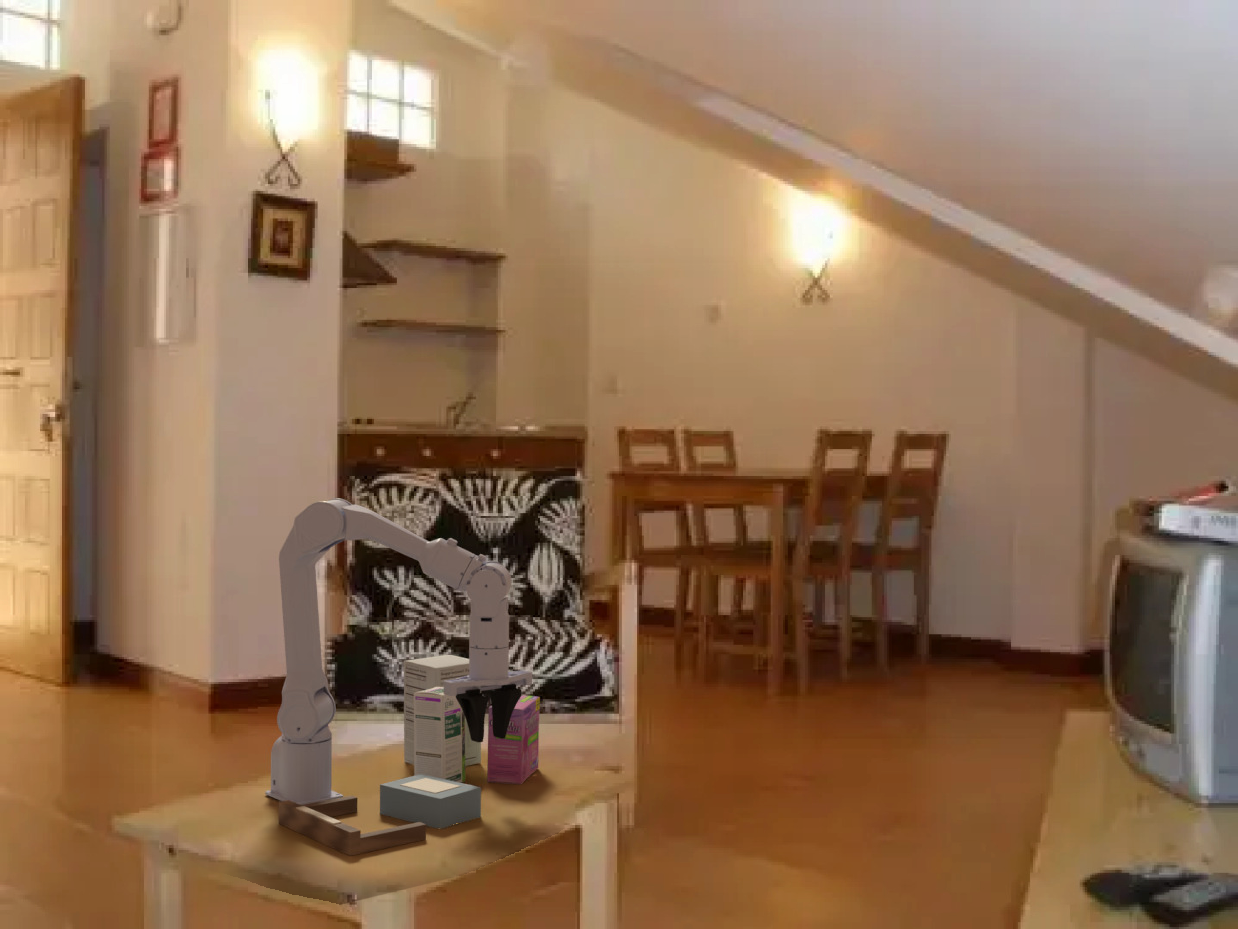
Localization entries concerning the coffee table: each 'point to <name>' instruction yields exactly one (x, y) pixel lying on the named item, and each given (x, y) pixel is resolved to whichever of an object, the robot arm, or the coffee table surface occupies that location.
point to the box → (515, 744)
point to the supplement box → (426, 677)
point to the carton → (430, 801)
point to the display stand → (343, 826)
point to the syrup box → (439, 735)
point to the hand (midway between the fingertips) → (488, 739)
